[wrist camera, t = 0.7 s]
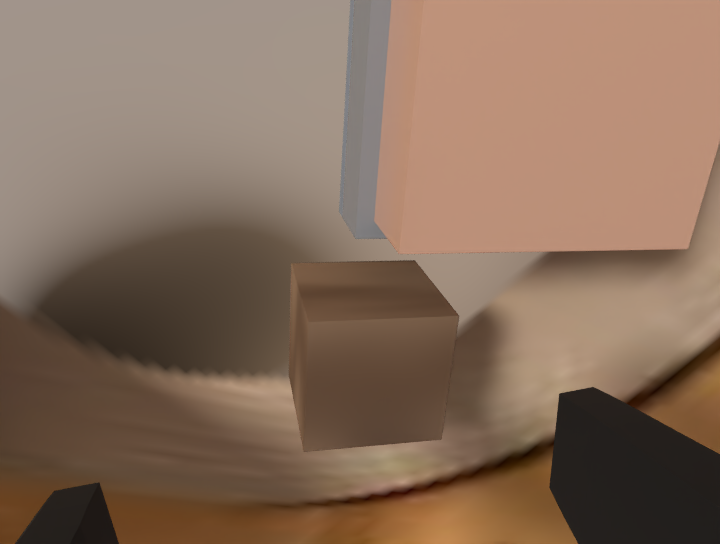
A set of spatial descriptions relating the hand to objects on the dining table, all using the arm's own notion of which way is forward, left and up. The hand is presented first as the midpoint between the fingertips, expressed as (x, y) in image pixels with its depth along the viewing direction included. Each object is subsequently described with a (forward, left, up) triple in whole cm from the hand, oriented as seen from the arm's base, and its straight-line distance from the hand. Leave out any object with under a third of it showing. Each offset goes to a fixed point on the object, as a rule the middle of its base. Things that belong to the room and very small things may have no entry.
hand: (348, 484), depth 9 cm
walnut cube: (-2, -2, -10) cm, 10 cm away
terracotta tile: (+6, -6, -8) cm, 12 cm away
